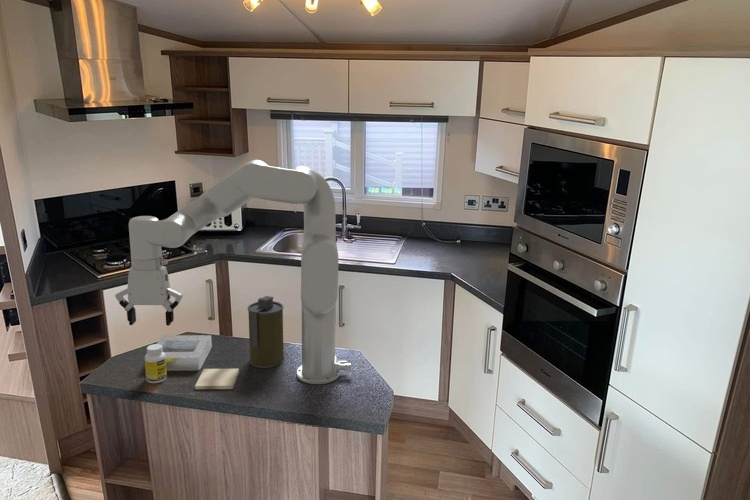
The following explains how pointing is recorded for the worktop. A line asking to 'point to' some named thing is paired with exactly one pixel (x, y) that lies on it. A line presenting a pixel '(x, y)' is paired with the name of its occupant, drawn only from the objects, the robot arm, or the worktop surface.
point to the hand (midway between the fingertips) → (151, 323)
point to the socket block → (185, 351)
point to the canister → (266, 333)
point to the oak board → (217, 379)
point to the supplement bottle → (155, 364)
